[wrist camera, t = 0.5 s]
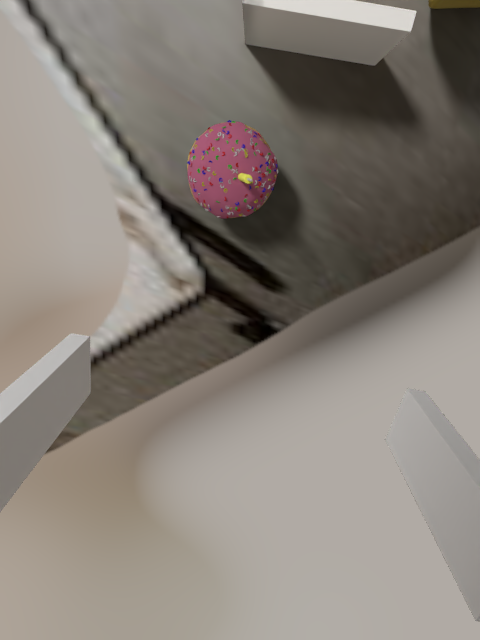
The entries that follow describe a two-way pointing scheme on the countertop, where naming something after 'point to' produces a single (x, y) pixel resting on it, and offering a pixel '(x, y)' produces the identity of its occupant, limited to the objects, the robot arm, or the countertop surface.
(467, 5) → the flower pot
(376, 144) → the countertop surface
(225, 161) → the cupcake
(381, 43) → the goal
